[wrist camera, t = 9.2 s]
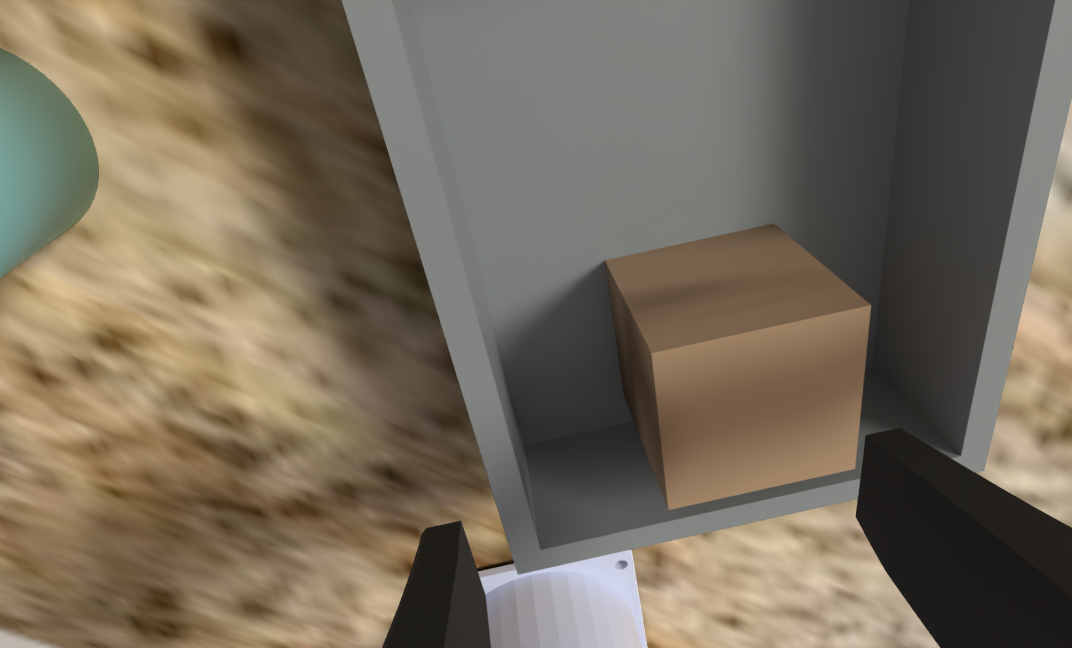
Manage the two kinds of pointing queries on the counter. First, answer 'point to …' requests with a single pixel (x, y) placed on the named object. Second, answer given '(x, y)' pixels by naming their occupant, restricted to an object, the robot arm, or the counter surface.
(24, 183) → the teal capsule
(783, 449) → the walnut cube
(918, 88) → the tote
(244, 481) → the counter surface
